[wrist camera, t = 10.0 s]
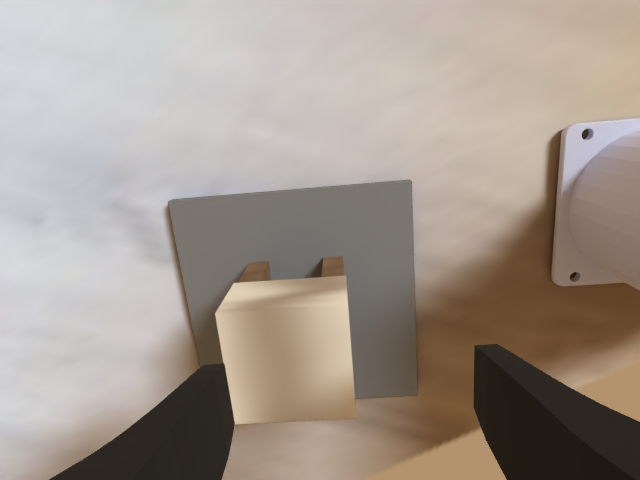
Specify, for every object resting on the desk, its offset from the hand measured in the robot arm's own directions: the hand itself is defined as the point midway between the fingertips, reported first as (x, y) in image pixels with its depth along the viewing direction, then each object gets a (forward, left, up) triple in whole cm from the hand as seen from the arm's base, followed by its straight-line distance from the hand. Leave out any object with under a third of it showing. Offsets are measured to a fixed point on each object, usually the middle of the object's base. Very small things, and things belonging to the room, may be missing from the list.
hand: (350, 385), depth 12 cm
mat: (+2, +2, -10) cm, 11 cm away
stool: (+2, +2, -10) cm, 10 cm away
